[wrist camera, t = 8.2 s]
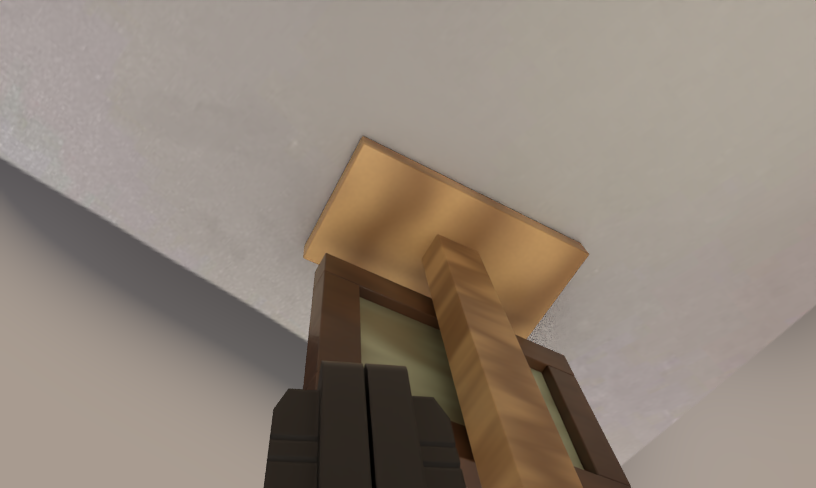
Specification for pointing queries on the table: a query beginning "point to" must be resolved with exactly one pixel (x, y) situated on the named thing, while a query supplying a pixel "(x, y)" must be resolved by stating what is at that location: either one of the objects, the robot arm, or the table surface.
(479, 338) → the stand
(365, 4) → the table surface
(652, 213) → the table surface
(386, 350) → the frame
